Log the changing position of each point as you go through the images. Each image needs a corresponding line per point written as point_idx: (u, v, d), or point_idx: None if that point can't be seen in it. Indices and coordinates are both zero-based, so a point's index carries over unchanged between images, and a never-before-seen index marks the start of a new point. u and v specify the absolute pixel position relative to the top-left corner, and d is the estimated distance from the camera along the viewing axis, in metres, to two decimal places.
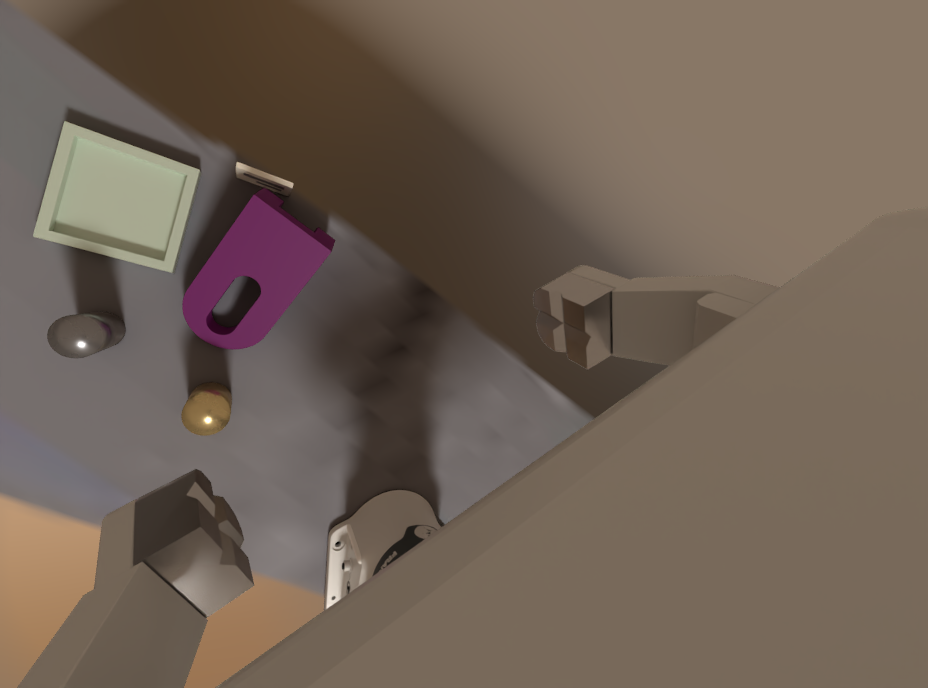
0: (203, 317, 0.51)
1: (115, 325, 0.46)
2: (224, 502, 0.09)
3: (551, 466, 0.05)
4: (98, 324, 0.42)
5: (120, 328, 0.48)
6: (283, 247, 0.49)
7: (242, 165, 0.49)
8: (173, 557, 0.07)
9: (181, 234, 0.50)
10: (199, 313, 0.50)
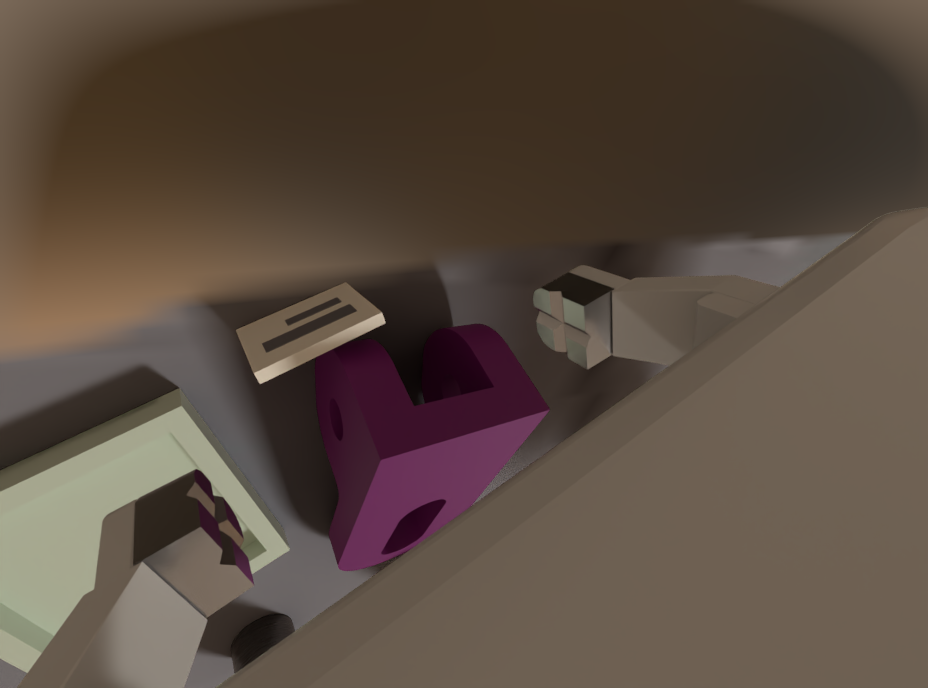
0: (377, 555, 0.30)
1: None
2: (224, 502, 0.09)
3: (551, 466, 0.05)
4: None
5: None
6: (464, 458, 0.23)
7: (269, 370, 0.19)
8: (173, 557, 0.07)
9: (255, 506, 0.25)
10: (369, 557, 0.30)
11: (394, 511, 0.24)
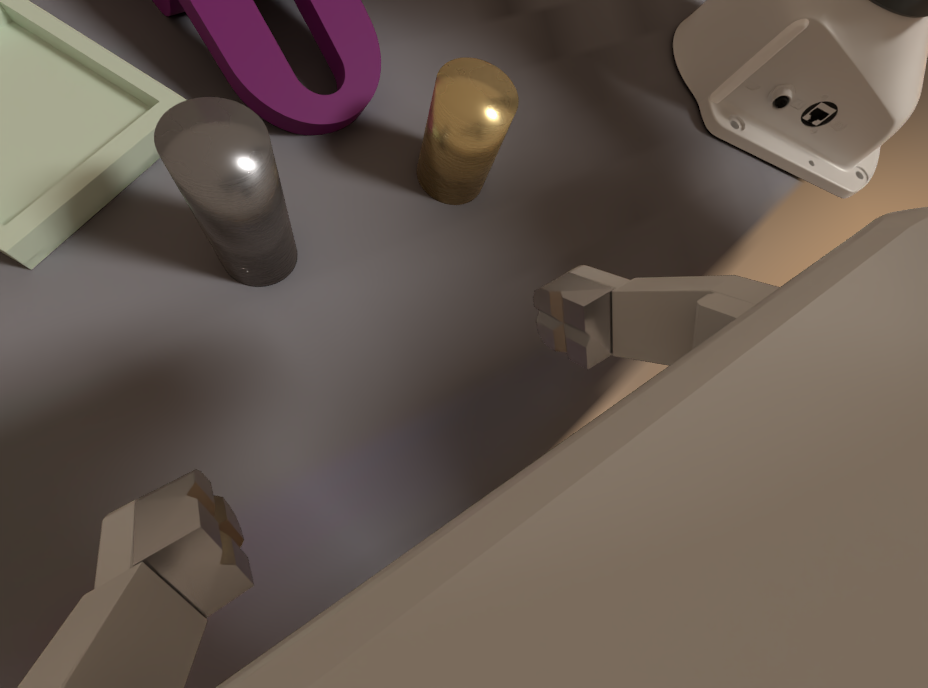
0: (297, 86, 0.26)
1: None
2: (224, 502, 0.09)
3: (551, 466, 0.05)
4: (207, 102, 0.18)
5: None
6: None
7: None
8: (173, 557, 0.07)
9: (117, 58, 0.25)
10: (286, 85, 0.26)
11: None
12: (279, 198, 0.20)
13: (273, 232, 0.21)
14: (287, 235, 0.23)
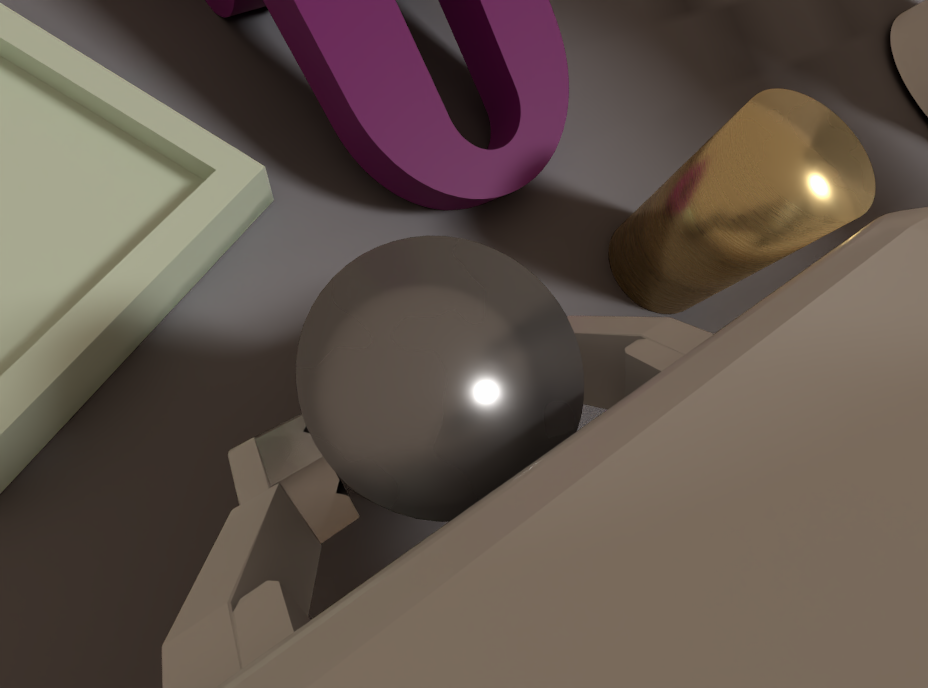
0: (453, 137, 0.15)
1: None
2: None
3: (551, 466, 0.05)
4: (418, 245, 0.07)
5: None
6: None
7: None
8: (301, 482, 0.07)
9: (140, 92, 0.14)
10: (437, 136, 0.15)
11: None
12: None
13: None
14: None
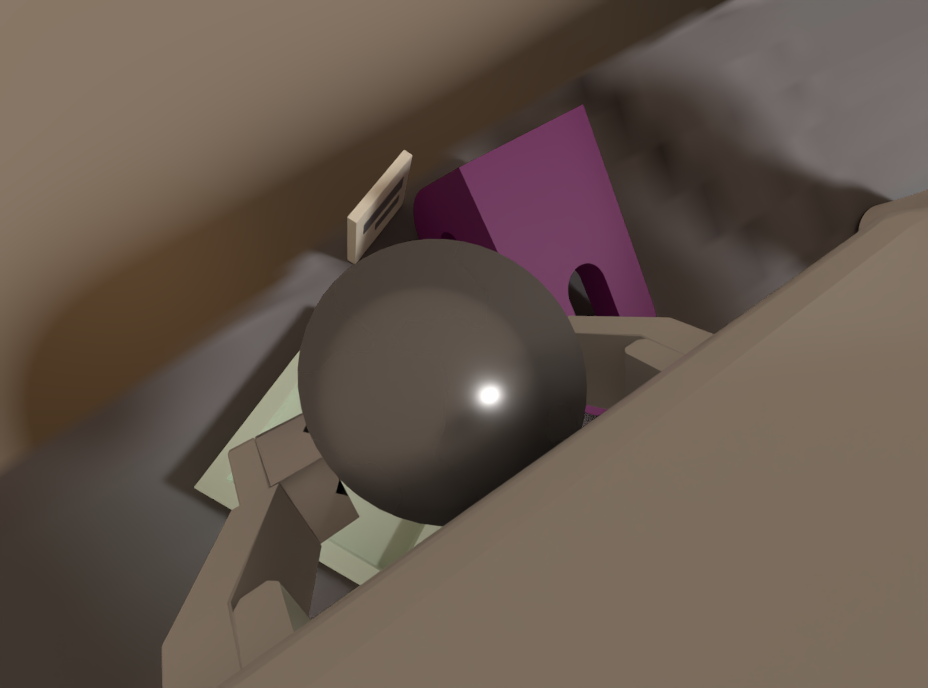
0: None
1: None
2: None
3: (551, 466, 0.05)
4: (419, 248, 0.07)
5: None
6: (552, 181, 0.25)
7: (356, 211, 0.25)
8: (301, 482, 0.07)
9: None
10: None
11: (546, 275, 0.25)
12: None
13: None
14: None
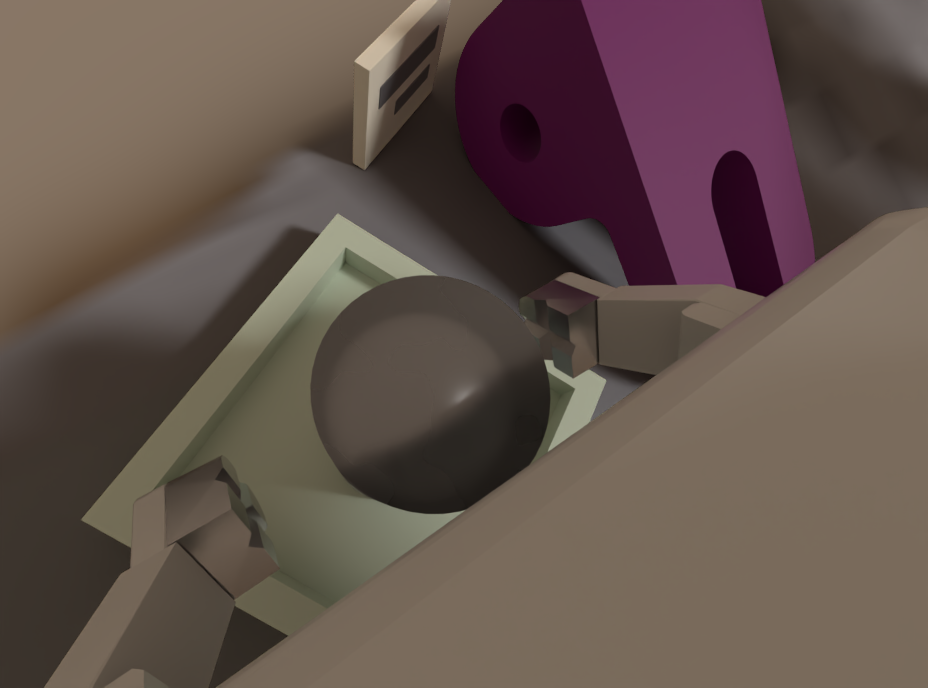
0: None
1: None
2: (248, 489, 0.09)
3: (551, 466, 0.05)
4: (411, 282, 0.08)
5: None
6: (694, 4, 0.15)
7: (368, 54, 0.15)
8: (205, 538, 0.07)
9: None
10: None
11: (683, 160, 0.15)
12: None
13: None
14: None
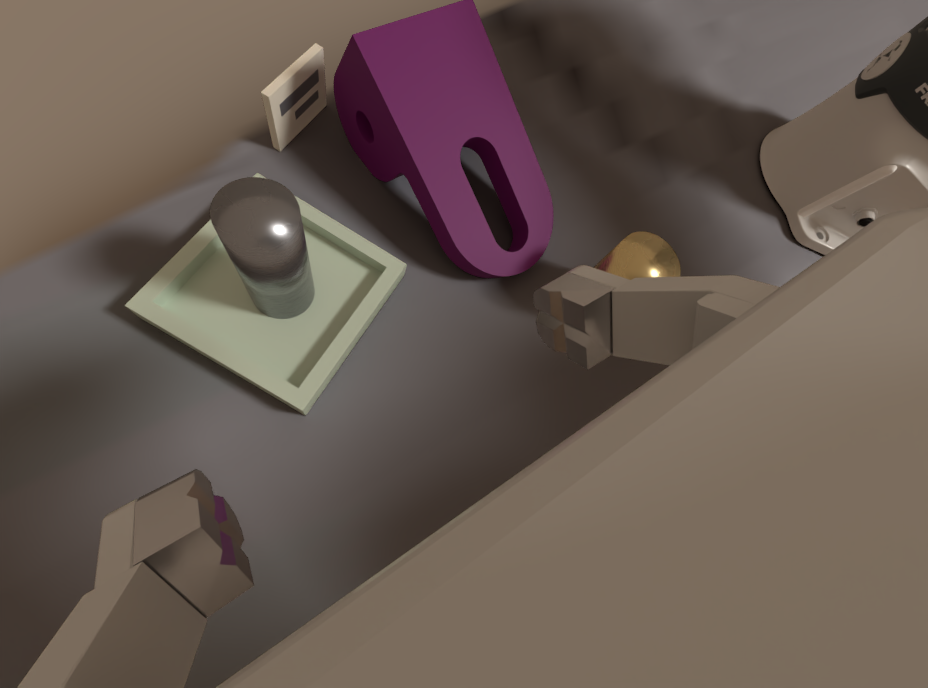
0: (496, 248, 0.32)
1: None
2: (224, 502, 0.09)
3: (551, 466, 0.05)
4: (252, 180, 0.22)
5: None
6: (443, 60, 0.29)
7: (268, 88, 0.29)
8: (173, 557, 0.07)
9: (351, 231, 0.31)
10: (488, 248, 0.32)
11: (438, 140, 0.29)
12: (304, 254, 0.24)
13: (296, 280, 0.25)
14: (307, 280, 0.27)
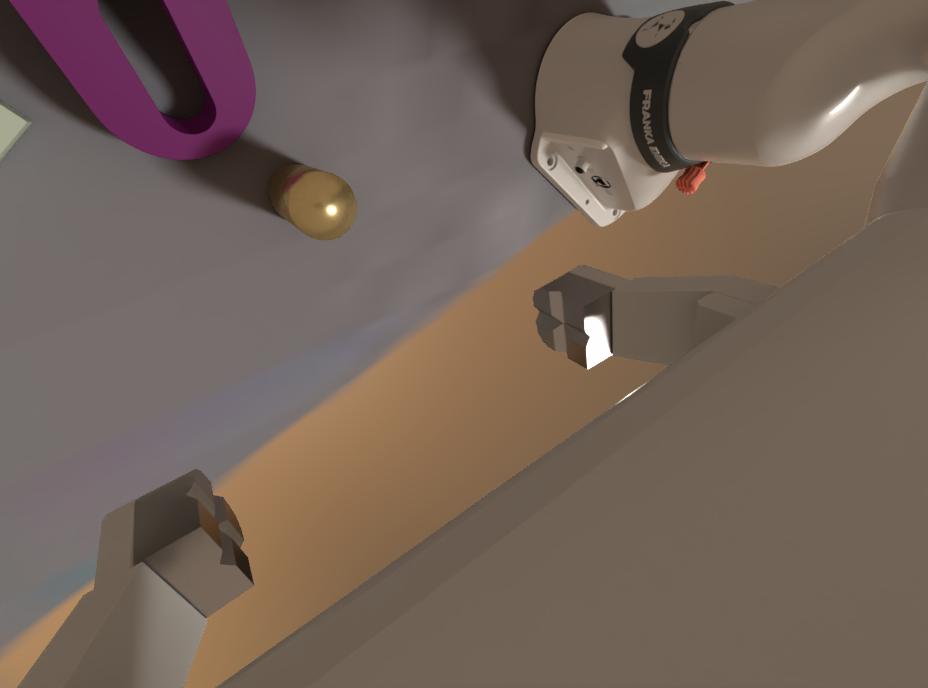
0: (165, 128, 0.28)
1: None
2: (224, 502, 0.09)
3: (551, 466, 0.05)
4: None
5: None
6: None
7: None
8: (173, 557, 0.07)
9: None
10: (154, 127, 0.27)
11: None
12: None
13: None
14: None
